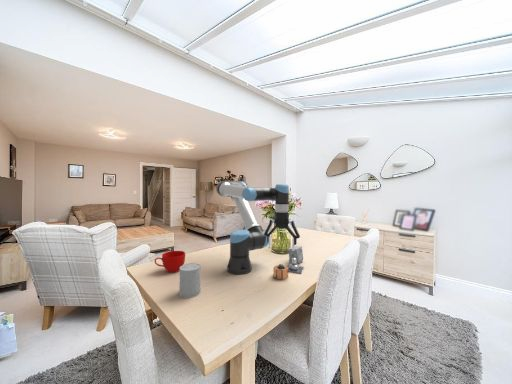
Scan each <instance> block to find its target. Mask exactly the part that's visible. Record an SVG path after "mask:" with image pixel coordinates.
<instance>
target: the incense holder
mask: <svg viewBox="0 0 512 384" xmlns="http://www.w3.org/2000/svg"><path fill="white" fill-rule="evenodd" d="M286 252H287V253H288V263H289V264H290V263H292V258H296V264H301V263H302V261H303V260H304V254H303V246H302V245H295V250H294V251H292V246H291V247H289V248H287V249H286Z"/></svg>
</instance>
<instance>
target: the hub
mask: <svg viewBox="0 0 512 384" xmlns="http://www.w3.org/2000/svg"><path fill="white" fill-rule="evenodd" d="M286 266H287V267H288V273H292V272H293V273H294V274H298V273H299V274H301V275H302V272H303V271H302V270H304V268H305V267H304V266H301V265H300V263H298V264H297V263H296V258H292V263H289V264H287V265H286ZM293 273H292V274H293Z"/></svg>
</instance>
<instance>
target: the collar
mask: <svg viewBox="0 0 512 384" xmlns="http://www.w3.org/2000/svg"><path fill="white" fill-rule="evenodd" d="M282 265H283V269H279V264H277V265H274V266H273V277H274V279H276V280H287V279H288V278H289V272H288V267H287V265H284V264H282Z"/></svg>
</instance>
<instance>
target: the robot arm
mask: <svg viewBox="0 0 512 384" xmlns="http://www.w3.org/2000/svg"><path fill="white" fill-rule="evenodd" d="M289 187H290V186H289V184H285V183H284V184H283V183H282V184H281V183H279V184H275V186H274V187H252V186H251V187H250V186H247V184H246V183H245V181H242V180H241V181H240V180H222V181H219V182H218V184H217V185H216V188H215V189H216V190H215V191H216V193H217V195H219V196H221V197H224V198H225V197H230V198H231V200H232V201H233V202H234V203H235V205H236V208H237V210H238V212H239V215H240V217H241V220H242V222H243V225H244V228H245V229H238V230H235V231H233V232H231V234H230V236H229V237H230V238H229V242H230V243H229V245H230V246H229V249H230V250H229V251H230V252H229V259H228V262H227V265H226V272H228V273H229V274H234V275H245V274H248V273H251V272H252V270H253V265H252V261H251V258H250V252H251V251H255V250H259V249H260V250H261V249H264V248H266V247H267V246H268V249H271V248H272V234H273V233H274V232H275V231H276V229H285V230H286V231H288V233H289V234H290V235H291V237H292V243H291V244H292V245H291V247H292V251H294V250H295V246H297V242H298V241H297V239H300V237H301V235H300V233H299V231H298V228H297V226H296V225H295V221H294V220H289V218H290V217H289V215H290V214H289V208H290V206H289V205H290V204H289V203H290V202H289V200H290V199H289V198H290V197H289V196H290V188H289ZM257 201H259V202H261V201H272V202H274V201H275V203H274V204H275V205H274V211H275V213H274V219H270V220H269V222H268V225H267V227H266V229H263V226H262V225H261V224H259V223H258V221H257V219H256V217H255V214H254V213H253V210H252V208H251V206H250V203H249V202H257ZM273 224H275V226H273V228H272V229H271V227H272V225H273ZM289 224H290V226H289ZM291 228H292V229H291Z"/></svg>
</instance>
